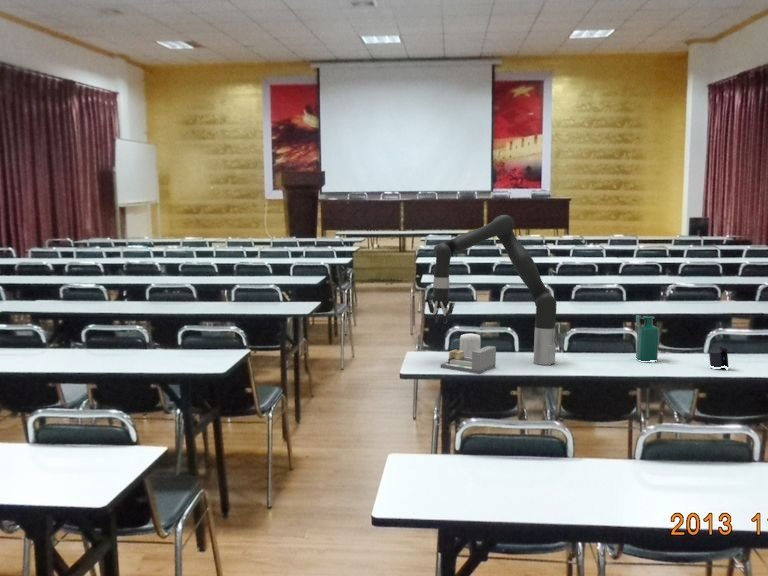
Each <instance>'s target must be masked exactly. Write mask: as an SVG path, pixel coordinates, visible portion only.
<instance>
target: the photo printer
mask: <svg viewBox="0 0 768 576" xmlns="http://www.w3.org/2000/svg"><path fill="white" fill-rule="evenodd" d="M478 349H481V335H480V334H476V333H464V334H461V335H460V337H459V350H462V351H465V353H464V357H468V358H472V352H473V351H475V350H478Z"/></svg>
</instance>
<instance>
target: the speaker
mask: <svg viewBox="0 0 768 576" xmlns="http://www.w3.org/2000/svg"><path fill="white" fill-rule="evenodd" d="M708 355H709V356H708V357H709V365H711V366H714V367H721V366H724V365H725V366H727V367H729V356H728V355H729V354H728V348H726V347H722V346H719V349H711V350H709V351H708Z"/></svg>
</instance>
